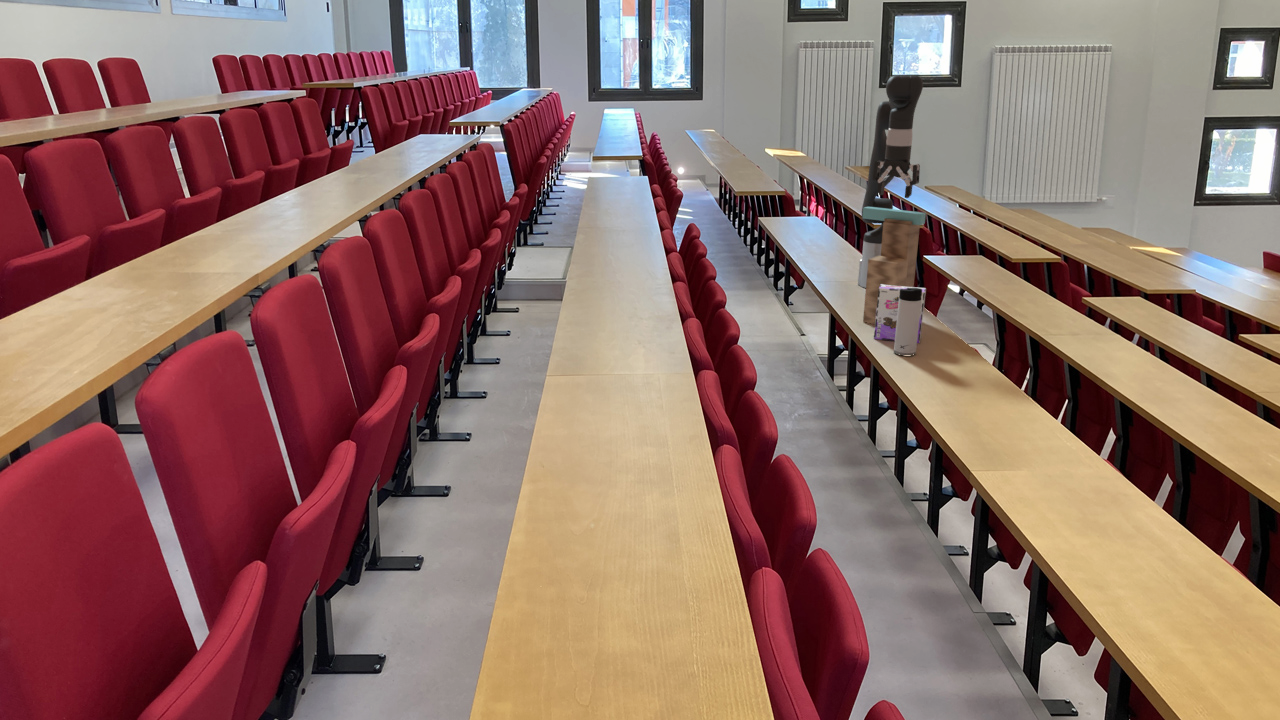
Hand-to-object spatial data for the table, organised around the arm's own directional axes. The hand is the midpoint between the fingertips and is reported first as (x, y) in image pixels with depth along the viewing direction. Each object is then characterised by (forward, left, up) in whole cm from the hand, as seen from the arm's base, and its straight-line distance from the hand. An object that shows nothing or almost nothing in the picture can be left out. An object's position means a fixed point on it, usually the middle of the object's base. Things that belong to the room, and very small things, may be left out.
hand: (893, 196), depth 285 cm
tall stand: (-3, +9, -41) cm, 42 cm away
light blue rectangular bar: (-6, +8, -9) cm, 14 cm away
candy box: (+14, -10, -42) cm, 45 cm away
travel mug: (+25, -20, -42) cm, 53 cm away
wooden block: (-1, +1, -41) cm, 41 cm away
